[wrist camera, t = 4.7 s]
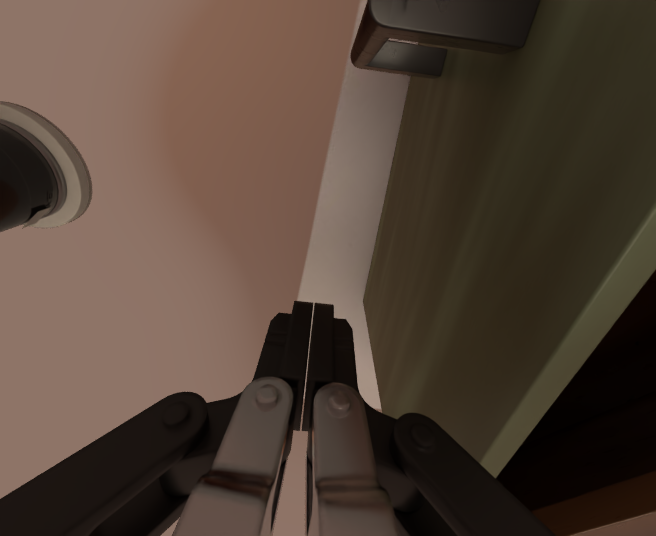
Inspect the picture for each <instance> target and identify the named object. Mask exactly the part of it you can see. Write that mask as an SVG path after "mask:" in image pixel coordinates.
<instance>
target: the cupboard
mask: <svg viewBox="0 0 656 536" xmlns="http://www.w3.org/2000/svg"><path fill="white" fill-rule="evenodd" d="M496 479H497V480H498V481H499V482H500V483H501V484H502V485H503V486H504V487H505V488H506V489H507V490H508V491H509V492H510V493H511V494H513V495H514V496H515V497H516V498H517V499H518V500H519V501H520V502H521V503H522V504H523V505H524V506H525V507H526V508H527V509H528V510H530V511H531V512H532V513H533V514H534V515H535V516H536V517H537V518H538V519H539V520H540V521H541V522H542V523H543V524H544V525H546V526H547V527H548V528H549V529H550V530H551V531H552V532H553V533H554V534H555V535H556V536H656V270H655V271H654V272H653V274H652V275H651V276H650V278H649V279H648V280H647V282H646V283H645V284H644V285H643V287H642V288H641V289H640V291H639V292H638V293H637V295H636V296H635V297H634V299H633V300H632V301H631V302H630V304H629V305H628V306H627V308H626V309H625V310H624V312H623V313H622V314H621V315H620V317H619V318H618V319H617V321H616V322H615V323H614V325H613V326H612V327H611V329H610V330H609V331H608V332H607V334H606V335H605V336H604V338H603V339H602V340H601V342H600V343H599V344H598V345H597V347H596V348H595V349H594V351H593V352H592V353H591V355H590V356H589V357H588V358H587V360H586V361H585V362H584V364H583V365H582V366H581V368H580V369H579V370H578V372H577V373H576V374H575V375H574V377H573V378H572V379H571V381H570V382H569V383H568V385H567V386H566V387H565V388H564V390H563V391H562V392H561V394H560V395H559V396H558V398H557V399H556V400H555V402H554V403H553V404H552V405H551V407H550V408H549V409H548V411H547V412H546V413H545V415H544V416H543V417H542V418H541V420H540V421H539V422H538V424H537V425H536V426H535V428H534V429H533V430H532V432H531V433H530V434H529V435H528V437H527V438H526V439H525V441H524V442H523V443H522V445H521V446H520V447H519V448H518V450H517V451H516V452H515V454H514V455H513V456H512V458H511V459H510V460H509V462H508V463H507V464H506V465H505V467H504V468H503V469H502V471H501V472H500V473H499V475H498V476H497V477H496Z"/></svg>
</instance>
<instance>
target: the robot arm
mask: <svg viewBox="0 0 656 536" xmlns="http://www.w3.org/2000/svg"><path fill="white" fill-rule="evenodd" d="M66 196H67V186H66V180H65V177H64V174H63V172H62V169H61V167H60V165H59V164H58V162H57V160H56V159H55V157H54V156H53V155H52V153H51V152H50V151H49V150H48V148H47V147H46V146H45V145H44V144H43V143H42V142H41V141H40V140H38V139H37V138H36V137H35V136H34V135H32V134H31V133H30V132H28V131H27V130H25V129H24V128H22V127H20V126H18V125H16V124H14V123H12V122H9V121H7V120H4V119H0V232H2V231H5V230H8V229H10V228H13V227H16V226H19V225H22V224H25V223H26V224H25V225H24V227H27V226H30V225H33V224H35V223H37V222H38V221H39V219H42V218H45V217H48V216H50V215H53V214H55V213H56V212H58V211H59V210H60V209H61V208H62V206H63V205H64V203H65V200H66ZM24 227H23V228H24ZM312 310H313V303H311V302H301V301H294V305H293V310H292V314H287V313H278V314H277V315H276V316H275V317H274V318H273V319H272V320H271V322H270V325H269V329H268V333H267V335H266V338H265V343H264V345H263V348H262V352H261V356H260V359H259V362H258V365H257V368H256V372H255V375H254V378H253V380H252V382H251V383H250V384H249V385H247V386H246V388H245V389H244V390H243V392H241V393H240V394H238V395H236V396H234V397H231V398H228V399H224V400H219V401H214V402H210V403H206V401H205V400H204V398H202V397H201V396H200V395H198V394H196V393H193V392H180V393H175V394H172V395H170V396H167V397H166V398H164V399H162V400H160V401H159V402H157V403H156V404H154V405H152V406H151V407H149V408H147V409H146V410H144V411H143V412H141V413H139V414H138V415H136V416H134V417H133V418H131V419H130V420H128V421H126V422H125V423H123V424H121V425H120V426H118V427H116V428H115V429H113V430H112V431H110V432H108V433H107V434H105V435H104V436H102V437H100V438H99V439H97V440H95V441H94V442H92V443H91V444H89V445H87V446H86V447H84V448H82V449H81V450H79V451H78V452H76V453H74V454H73V455H71V456H70V457H68V458H66V459H64V460H63V461H61V462H60V463H58V464H56V465H55V466H53V467H52V468H50V469H48V470H47V471H45V472H44V473H42V474H40V475H38V476H37V477H35V478H34V479H32V480H30V481H29V482H27V483H25V484H24V485H22V486H21V487H19V488H18V489H16V490H14V491H12V492H11V493H9V494H8V495H6V496H4V497H3V498H1V499H0V536H160V535H161V534H162V533H164V532H165V531H166V530H167V529H168V528H169V527H170V526H171V525H172V524H173V523H174V522H175V521H176V520H177V519H178V518H179V517H180V519H179V521H178V523H177V525H176V528H175V530H174V532H173V534H172V536H272V535H273V530H274V525H275V520H276V515H277V510H278V505H279V499H280V495H281V490H282V485H283V480H284V475H285V469H286V465H287V460H288V455H289V453H290V450H291V444H292V436H293V430H297V431H299V430H300V422H301V414H302V405H303V396H304V388H305V379H306V369H307V359H308V349H309V339H310V329H311V320H312ZM302 431H308V444H307V452H306V470H305V480H306V482H305V536H556V535H555V534H554V533H553V532H552V531H551V530H550V529H549V528H548V527H547V526H546V525H544V524H543V523H542V522H541V521H540V520H539V519H538V518H537V517H536V516H535V515H534V514H533V513H532V512H531V511H530V510H528V509H527V508H526V507H525V506H524V505H523V504H522V503H521V502H520V501H519V500H518V499H517V498H516V497H515V496H514V495H513V494H511V493H510V492H509V491H508V490H507V489H506V488H505V487H504V486H503V485H502V484H501V483H500V482H499V481H498V480H497V479H496V478H494V477H493V476H492V475H491V474H490V473H489V472H488V471H487V470H486V469H485V468H484V467H483V466H482V465H481V464H480V463H479V462H477V461H476V460H475V459H474V458H473V457H472V456H471V455H470V454H469V453H468V452H467V451H466V450H465V449H464V448H463V447H462V446H460V445H459V444H458V443H457V442H456V441H455V440H454V439H453V438H452V437H451V436H450V435H449V434H448V433H447V432H446V431H445V430H443V429H442V428H441V427H440V426H439V425H438V424H437V423H436V422H435V421H434V420H432V419H431V418H429V417H427V416H425V415H422V414H419V413H406V414H403V415H402V416H400V417H399V418H398V419H395V418H393V417H390V416H388V415H385V414H383V413H381V412H378V411H376V410H375V409H373V408H372V407H370V406H369V405H368V404H367V403H366V402H365V401H364V399H363V398H362V397H361V395H360V393H359V390H358V384H357V374H356V363H355V352H354V342H353V331H352V328H351V326H350V325H349V323H348V322H347V320H346V319H337V318H334V305H331V304H321V303H315V306H314V314H313V323H312V332H311V341H310V351H309V361H308V371H307V382H306V392H305V403H304V413H303V424H302Z"/></svg>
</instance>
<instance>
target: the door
mask: <svg viewBox="0 0 656 536" xmlns="http://www.w3.org/2000/svg"><path fill="white" fill-rule="evenodd" d="M389 38H391V39H398V40H405V41H411V42H418V45H417V44H410V43H403V42H396V41H390V40H388V39H389ZM351 61H352V63H353V65H354V66H355V67H357V68H359V69H366V70H373V71H380V72H388V73H395V74H402V75H409V76H411V78H410V83H409V87H408V92H407V97H406V102H405V106H404V111H403V116H402V120H401V125H400V130H399V135H398V139H397V144H396V149H395V153H394V158H393V163H392V167H391V172H390V177H389V182H388V186H387V191H386V196H385V200H384V205H383V210H382V215H381V219H380V224H379V229H378V233H377V238H376V243H375V248H374V252H373V257H372V262H371V266H370V271H369V276H368V280H367V285H366V290H365V295H364V299H363V304H364V310H365V315H366V321H367V327H368V333H369V339H370V344H371V350H372V356H373V362H374V367H375V373H376V379H377V385H378V390H379V396H380V402H381V408H382V413H383V414H385V415H388V416H390V417H393V418H395V419H398V418H399V417H400V416H402V415H403V414H406V413H419V414H422V415H425V416H427V417H429V418H431V419H432V420H434V421H435V422H436V423H437V424H438V425H439V426H440V427H441V428H442V429H443V430H445V431H446V432H447V433H448V434H449V435H450V436H451V437H452V438H453V439H454V440H455V441H456V442H457V443H458V444H459V445H460V446H462V447H463V448H464V449H465V450H466V451H467V452H468V453H469V454H470V455H471V456H472V457H473V458H474V459H475V460H476V461H477V462H479V463H480V464H481V465H482V466H483V467H484V468H485V469H486V470H487V471H488V472H489V473H490V474H491V475H492V476H493V477H494V478H496V477H497V476H498V475H499V473H500V472H501V471H502V469H503V468H504V467H505V465H506V464H507V463H508V462H509V460H510V459H511V458H512V456H513V455H514V454H515V452H516V451H517V450H518V448H519V447H520V446H521V445H522V443H523V442H524V441H525V439H526V438H527V437H528V435H529V434H530V433H531V432H532V430H533V429H534V428H535V426H536V425H537V424H538V422H539V421H540V420H541V418H542V417H543V416H544V415H545V413H546V412H547V411H548V409H549V408H550V407H551V405H552V404H553V403H554V402H555V400H556V399H557V398H558V396H559V395H560V394H561V392H562V391H563V390H564V388H565V387H566V386H567V385H568V383H569V382H570V381H571V379H572V378H573V377H574V375H575V374H576V373H577V372H578V370H579V369H580V368H581V366H582V365H583V364H584V362H585V361H586V360H587V358H588V357H589V356H590V355H591V353H592V352H593V351H594V349H595V348H596V347H597V345H598V344H599V343H600V342H601V340H602V339H603V338H604V336H605V335H606V334H607V332H608V331H609V330H610V329H611V327H612V326H613V325H614V323H615V322H616V321H617V319H618V318H619V317H620V315H621V314H622V313H623V312H624V310H625V309H626V308H627V306H628V305H629V304H630V302H631V301H632V300H633V299H634V297H635V296H636V295H637V293H638V292H639V291H640V289H641V288H642V287H643V285H644V284H645V283H646V282H647V280H648V279H649V278H650V276H651V275H652V274H653V272H654V271H655V270H656V0H368V1H367V4H366V8H365V11H364V14H363V17H362V20H361V23H360V26H359V29H358V32H357V35H356V38H355V41H354V44H353V47H352V51H351Z"/></svg>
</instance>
